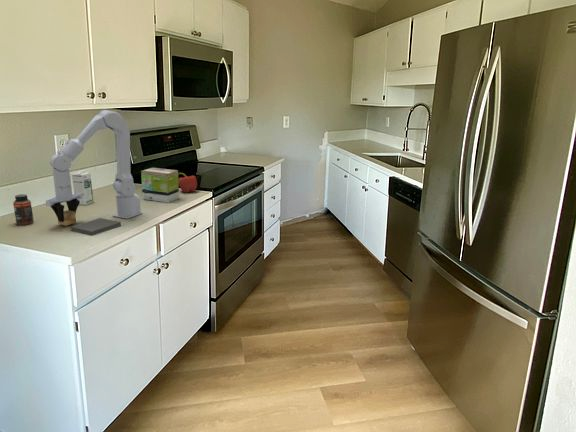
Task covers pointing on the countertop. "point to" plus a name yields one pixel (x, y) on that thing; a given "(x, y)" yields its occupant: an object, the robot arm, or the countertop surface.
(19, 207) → the supplement bottle
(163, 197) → the tea box
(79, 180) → the syrup box
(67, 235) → the countertop surface
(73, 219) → the oak cube
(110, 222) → the charcoal mat
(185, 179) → the vegetable
